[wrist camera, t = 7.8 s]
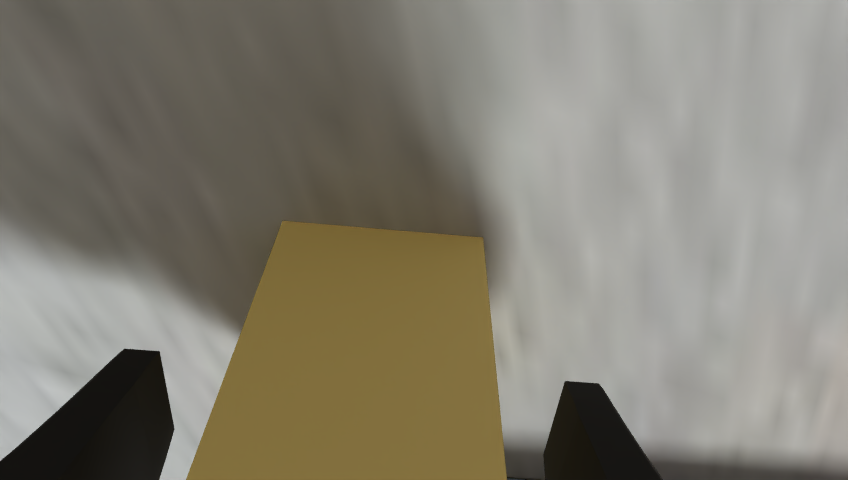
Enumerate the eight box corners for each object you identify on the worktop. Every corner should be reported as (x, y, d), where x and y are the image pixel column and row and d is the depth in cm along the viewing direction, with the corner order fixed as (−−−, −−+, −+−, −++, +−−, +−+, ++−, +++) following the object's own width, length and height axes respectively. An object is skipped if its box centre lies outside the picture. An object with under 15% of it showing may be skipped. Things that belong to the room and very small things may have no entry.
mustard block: (482, 237, 13) (509, 504, 8) (459, 378, 15) (469, 656, 10) (282, 220, 13) (185, 481, 8) (288, 365, 15) (215, 640, 10)
